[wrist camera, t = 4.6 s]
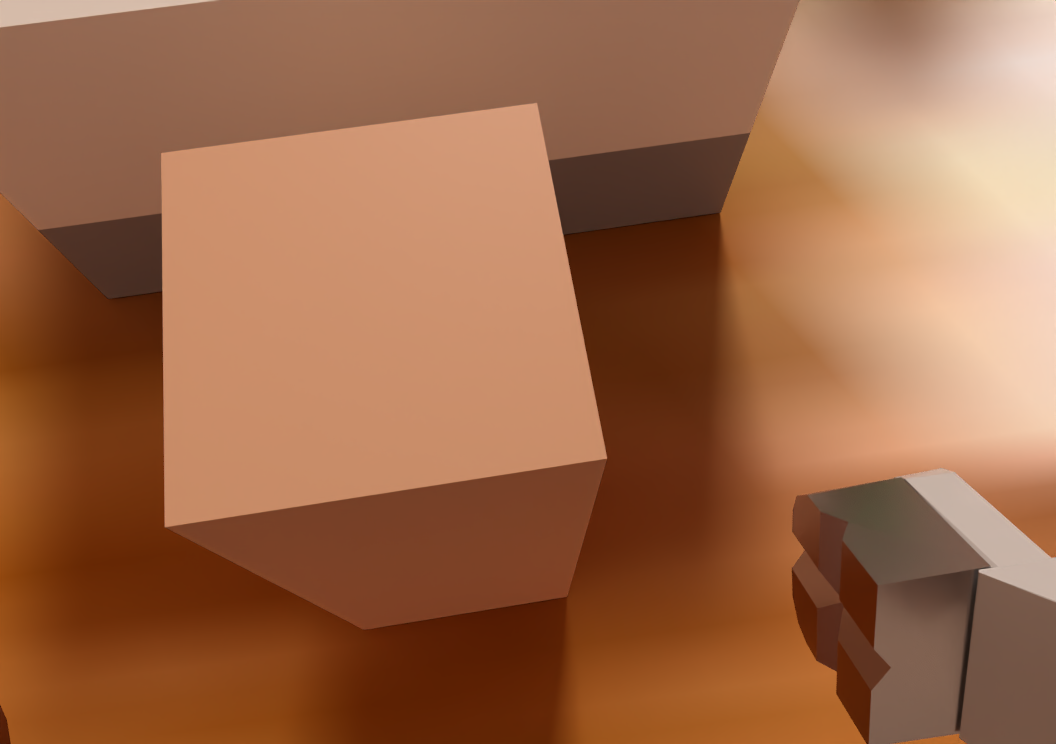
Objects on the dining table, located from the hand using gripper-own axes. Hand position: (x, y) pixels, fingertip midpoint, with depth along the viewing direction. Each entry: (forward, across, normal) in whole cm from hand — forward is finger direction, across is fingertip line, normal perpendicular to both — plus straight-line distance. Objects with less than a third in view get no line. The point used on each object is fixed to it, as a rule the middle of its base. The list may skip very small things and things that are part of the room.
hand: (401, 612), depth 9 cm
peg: (+8, 0, +4) cm, 9 cm away
